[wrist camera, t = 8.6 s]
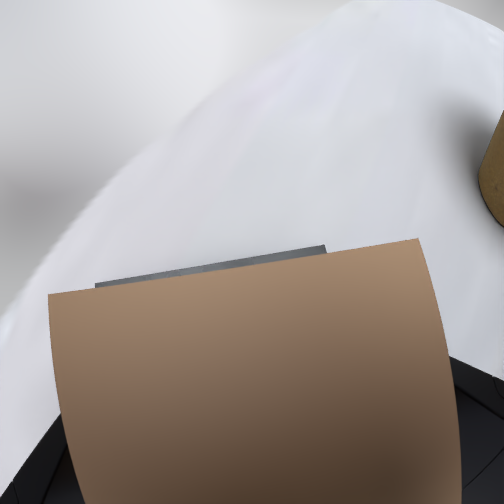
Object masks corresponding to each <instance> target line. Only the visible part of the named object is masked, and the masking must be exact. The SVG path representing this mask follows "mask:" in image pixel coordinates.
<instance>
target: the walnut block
mask: <svg viewBox="0 0 504 504" xmlns="http://www.w3.org/2000/svg"><path fill="white" fill-rule="evenodd" d="M48 308H49V325H50V338H51V349H52V358H53V367H54V374H55V381H56V388H57V394H58V400H59V406H60V411H61V416H62V421H63V426H64V430H65V435H66V439H67V443H68V447H69V451H70V455H71V459H72V462H73V466H74V470H75V473H76V476H77V480H78V483H79V486H80V489H81V492H82V495H83V498H84V501H85V504H461V493H462V483H461V452H460V437H459V425H458V415H457V406H456V398H455V391H454V384H453V377H452V371H451V365H450V360H449V354H448V349H447V344H446V339H445V334H444V330H443V325H442V321H441V317H440V312H439V308H438V304H437V300H436V296H435V293H434V289H433V285H432V282H431V278H430V274H429V271H428V268H427V264H426V261H425V258H424V255H423V251H422V248H421V245H420V242H419V239H418V238H417V239H411V240H405V241H399V242H393V243H387V244H381V245H375V246H369V247H363V248H357V249H351V250H345V251H338V252H332V253H326V254H320V255H314V256H307V257H301V258H295V259H288V260H282V261H276V262H269V263H263V264H256V265H250V266H243V267H237V268H230V269H223V270H217V271H210V272H203V273H197V274H190V275H183V276H176V277H170V278H163V279H156V280H149V281H142V282H135V283H128V284H121V285H114V286H107V287H99V288H92V289H85V290H78V291H70V292H63V293H55V294H48Z"/></svg>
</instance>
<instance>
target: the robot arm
mask: <svg viewBox="0 0 504 504" xmlns="http://www.w3.org/2000/svg"><path fill="white" fill-rule="evenodd" d="M449 360H450V365H451V371H452V377H453V384H454V391H455V398H456V406H457V415H458V425H459V437H460V452H461V483H462V493H461V504H504V381H503V380H501V379H499V378H497V377H494V376H493V377H492V375H490V374H488V373H485V372H483V371H481V370H479V369H477V368H475V367H472V366H470V365H468V364H466V363H464V362H461V361H459V360H457V359H455V358H453V357H451V356H449ZM0 504H85V501H84V498H83V495H82V492H81V489H80V486H79V483H78V480H77V476H76V473H75V470H74V466H73V462H72V459H71V455H70V451H69V447H68V443H67V439H66V435H65V430H64V426H63V421H62V416H61V413H60V415H59V416H58V417H57V419H56V420H55V421H54V423H53V424H52V425H51V427H50V428H49V429H48V431H47V432H46V433H45V435H44V436H43V438H42V439H41V440H40V442H39V443H38V444H37V446H36V447H35V449H34V450H33V451H32V453H31V454H30V456H29V457H28V458H27V460H26V461H25V463H24V464H23V466H22V467H21V468H20V470H19V471H18V473H17V474H16V476H15V477H14V479H13V481H12V482H11V483H10V484H9V486H8V487H7V489H6V490H5V491H4V493H3V494H2V496H1V497H0Z"/></svg>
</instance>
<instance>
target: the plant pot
mask: <svg viewBox="0 0 504 504" xmlns="http://www.w3.org/2000/svg"><path fill="white" fill-rule="evenodd" d="M478 178H479V185H480V189H481V193H482V195H483V198H484V200H485V202H486V204H487V206H488V208H489V209H490V211H491V212H492V214H493V215H494V217H495V218H496V219H497V220H498V222H499V223H500V224H501V225H503V226H504V111H503V113H502V115H501V117H500V120H499V122H498V124H497V127H496V129H495V132H494V134H493V136H492V139H491V141H490V144H489V146H488V149H487V151H486V154H485V156H484V159H483V161H482V164H481V167H480V169H479V174H478Z"/></svg>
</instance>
